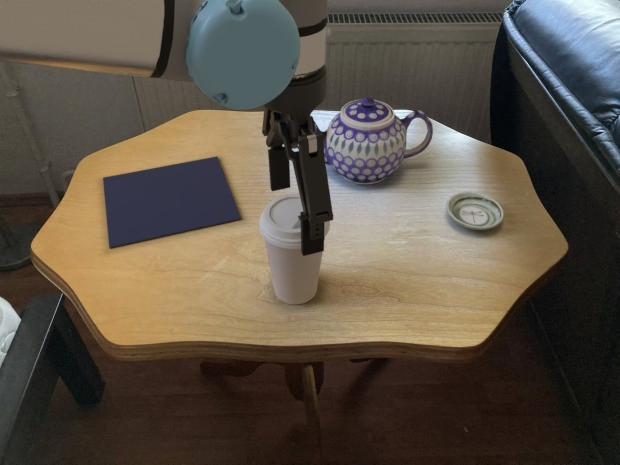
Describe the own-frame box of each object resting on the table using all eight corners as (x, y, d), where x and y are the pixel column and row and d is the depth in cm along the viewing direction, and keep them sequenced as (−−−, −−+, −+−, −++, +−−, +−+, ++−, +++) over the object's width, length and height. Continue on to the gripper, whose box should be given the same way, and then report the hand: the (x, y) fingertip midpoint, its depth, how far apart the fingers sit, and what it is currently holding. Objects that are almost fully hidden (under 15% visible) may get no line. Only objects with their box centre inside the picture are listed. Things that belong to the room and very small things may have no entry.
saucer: (455, 240, 85) (458, 229, 83) (436, 204, 92) (438, 193, 91) (510, 235, 86) (514, 224, 85) (487, 199, 93) (490, 188, 92)
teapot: (420, 147, 106) (432, 79, 96) (433, 193, 95) (449, 121, 84) (298, 147, 106) (298, 78, 96) (298, 193, 94) (297, 121, 84)
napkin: (109, 248, 83) (109, 246, 83) (103, 179, 97) (102, 177, 97) (241, 219, 89) (241, 218, 89) (217, 157, 103) (217, 156, 102)
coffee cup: (291, 323, 72) (289, 248, 62) (251, 285, 78) (243, 209, 67) (340, 290, 77) (345, 214, 67) (299, 256, 82) (298, 181, 72)
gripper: (373, 115, 46) (358, 276, 60) (288, 18, 63) (293, 161, 77) (293, 130, 44) (298, 292, 58) (229, 26, 61) (245, 170, 76)
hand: (295, 217), depth 68 cm, fingers open, 13 cm apart
